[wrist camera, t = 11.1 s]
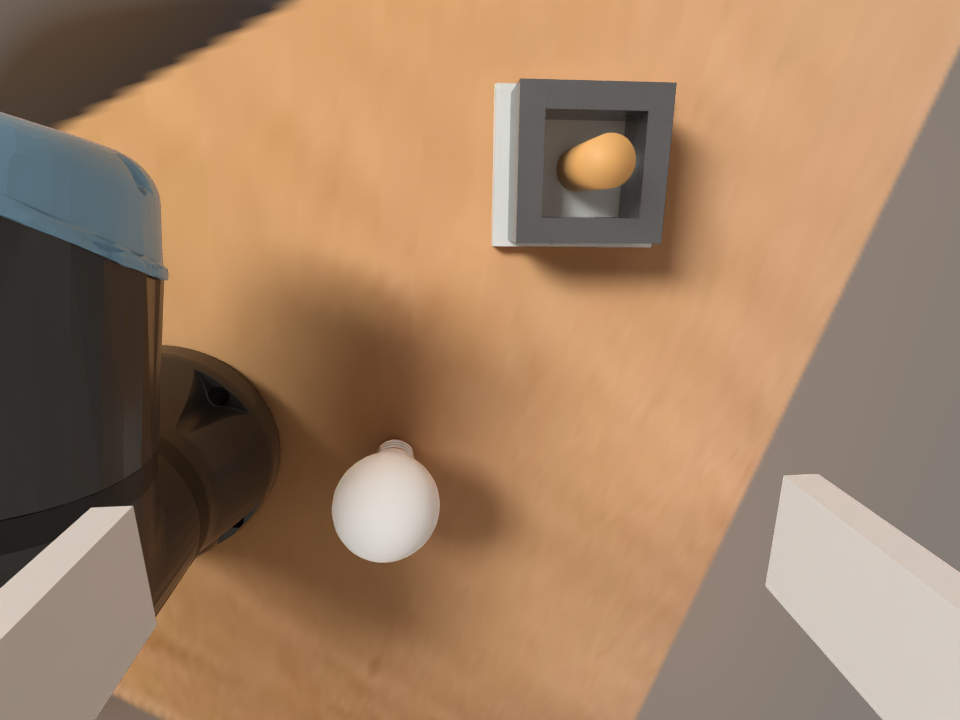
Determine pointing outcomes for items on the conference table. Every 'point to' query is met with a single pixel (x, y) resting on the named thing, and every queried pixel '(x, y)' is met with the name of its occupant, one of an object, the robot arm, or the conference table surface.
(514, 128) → the grey square frame
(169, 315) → the conference table surface
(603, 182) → the keeper
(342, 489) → the light bulb
